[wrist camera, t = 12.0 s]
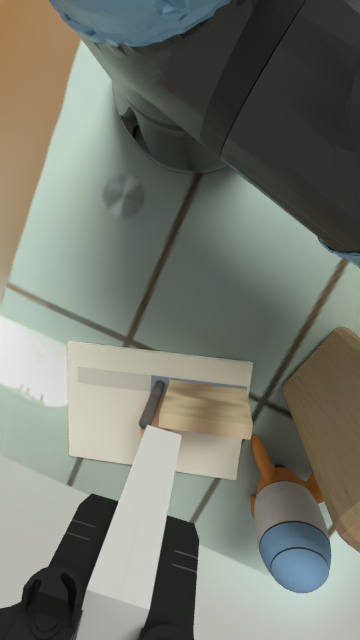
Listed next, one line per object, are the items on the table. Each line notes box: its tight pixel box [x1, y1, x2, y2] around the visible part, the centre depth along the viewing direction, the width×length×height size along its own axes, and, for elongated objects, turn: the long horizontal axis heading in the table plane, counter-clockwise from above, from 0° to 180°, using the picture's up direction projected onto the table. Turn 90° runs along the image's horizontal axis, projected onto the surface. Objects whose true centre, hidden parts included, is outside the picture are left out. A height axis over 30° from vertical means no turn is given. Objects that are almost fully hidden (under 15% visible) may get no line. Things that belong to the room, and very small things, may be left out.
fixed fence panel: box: [139, 380, 253, 440], centre depth 35 cm, size 11×2×9 cm, turn 85°
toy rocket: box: [251, 435, 331, 593], centre depth 35 cm, size 10×11×15 cm
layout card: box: [67, 341, 253, 480], centre depth 41 cm, size 16×22×1 cm
